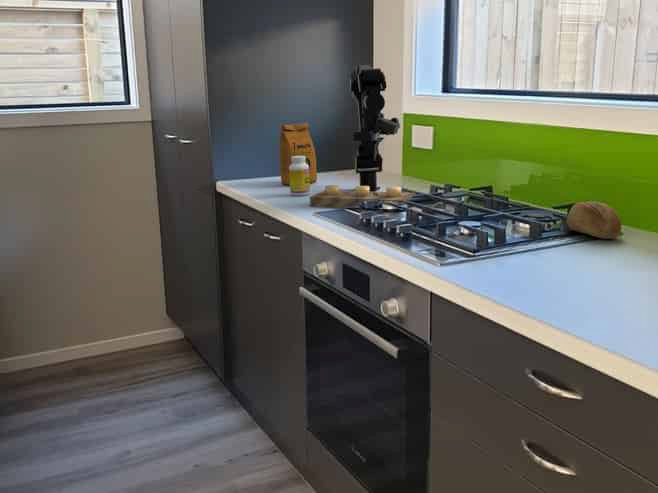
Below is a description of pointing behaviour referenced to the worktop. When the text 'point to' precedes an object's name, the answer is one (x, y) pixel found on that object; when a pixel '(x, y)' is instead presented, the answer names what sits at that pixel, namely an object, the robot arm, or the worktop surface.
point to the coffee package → (296, 150)
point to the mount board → (353, 199)
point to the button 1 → (332, 189)
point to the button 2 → (393, 191)
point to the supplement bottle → (299, 177)
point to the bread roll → (594, 220)
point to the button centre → (362, 190)
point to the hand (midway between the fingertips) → (372, 161)
